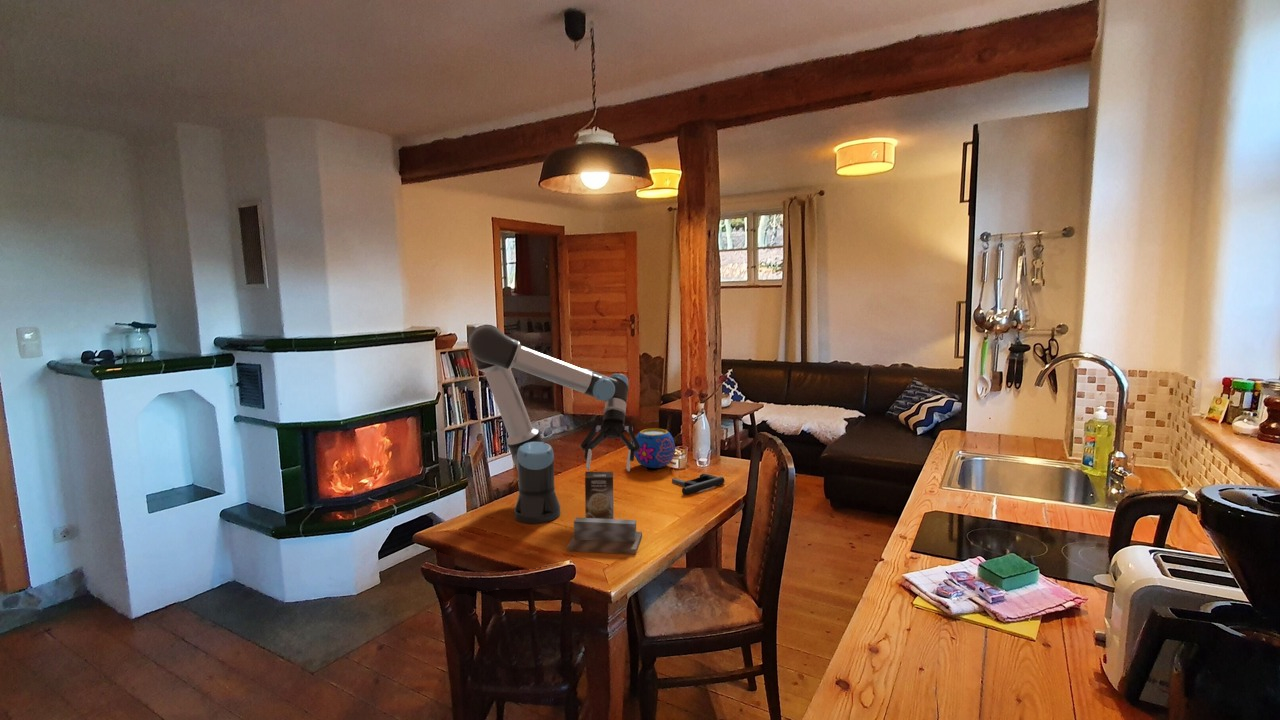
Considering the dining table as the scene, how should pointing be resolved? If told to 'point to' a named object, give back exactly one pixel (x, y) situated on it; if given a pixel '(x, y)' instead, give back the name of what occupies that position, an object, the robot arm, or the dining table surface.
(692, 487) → the door handle
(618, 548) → the ridge stand
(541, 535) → the dining table surface
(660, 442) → the ceramic pot
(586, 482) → the coffee box
